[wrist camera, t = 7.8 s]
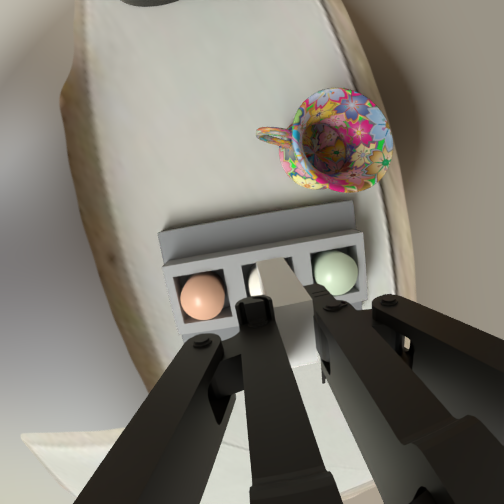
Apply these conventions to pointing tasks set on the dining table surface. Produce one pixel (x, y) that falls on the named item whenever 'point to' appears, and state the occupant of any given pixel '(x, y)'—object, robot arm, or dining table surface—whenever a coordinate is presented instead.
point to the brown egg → (203, 295)
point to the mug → (334, 142)
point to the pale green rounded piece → (334, 271)
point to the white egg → (254, 281)
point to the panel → (257, 256)
